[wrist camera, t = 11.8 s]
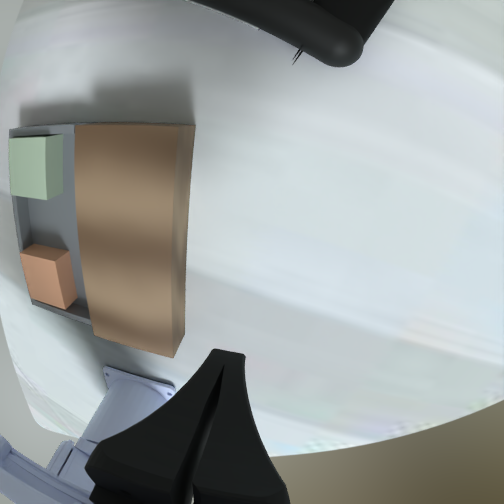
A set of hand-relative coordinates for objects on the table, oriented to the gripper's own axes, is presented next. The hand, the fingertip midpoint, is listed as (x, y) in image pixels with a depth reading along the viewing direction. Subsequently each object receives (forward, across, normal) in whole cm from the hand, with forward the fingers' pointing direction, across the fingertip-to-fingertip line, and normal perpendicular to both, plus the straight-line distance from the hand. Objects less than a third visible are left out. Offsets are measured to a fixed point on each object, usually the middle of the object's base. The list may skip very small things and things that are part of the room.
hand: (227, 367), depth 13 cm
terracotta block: (+7, +17, +3) cm, 19 cm away
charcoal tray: (+9, +16, -1) cm, 19 cm away
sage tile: (+7, +17, -6) cm, 19 cm away
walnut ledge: (+9, +8, -1) cm, 13 cm away
